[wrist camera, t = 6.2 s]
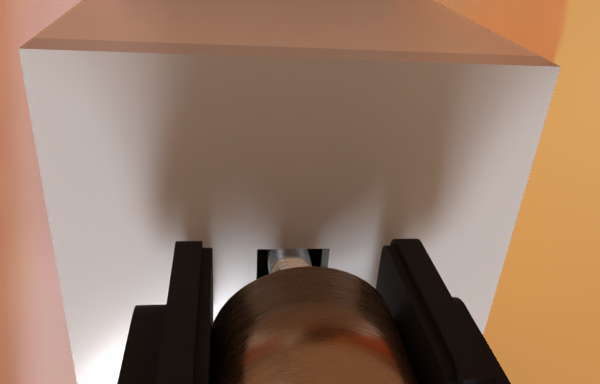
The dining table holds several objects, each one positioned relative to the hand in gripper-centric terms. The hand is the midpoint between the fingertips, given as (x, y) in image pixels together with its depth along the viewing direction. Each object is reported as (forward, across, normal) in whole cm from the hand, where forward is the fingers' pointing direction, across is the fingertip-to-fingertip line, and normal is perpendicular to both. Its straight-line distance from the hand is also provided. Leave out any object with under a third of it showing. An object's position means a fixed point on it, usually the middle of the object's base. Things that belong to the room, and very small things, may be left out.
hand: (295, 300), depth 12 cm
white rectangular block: (+19, -1, 0) cm, 19 cm away
